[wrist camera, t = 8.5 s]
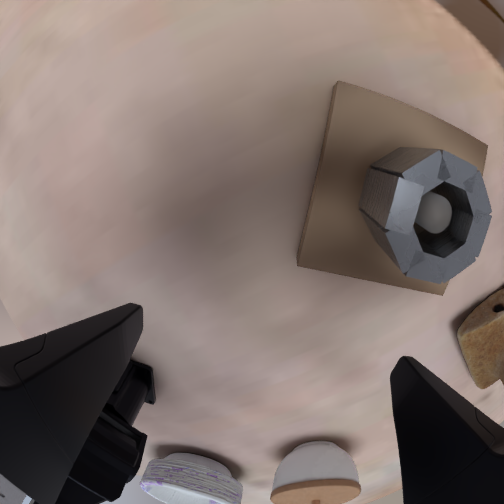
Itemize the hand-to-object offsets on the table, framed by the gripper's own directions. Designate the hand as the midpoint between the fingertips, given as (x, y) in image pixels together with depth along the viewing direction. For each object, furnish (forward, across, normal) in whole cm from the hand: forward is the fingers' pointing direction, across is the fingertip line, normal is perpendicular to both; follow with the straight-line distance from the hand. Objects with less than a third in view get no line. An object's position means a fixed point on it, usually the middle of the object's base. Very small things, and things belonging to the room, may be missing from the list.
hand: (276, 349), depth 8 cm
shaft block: (+11, -7, -5) cm, 14 cm away
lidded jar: (+12, -12, +27) cm, 32 cm away
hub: (+10, -7, -5) cm, 13 cm away
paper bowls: (+13, +3, +39) cm, 41 cm away
